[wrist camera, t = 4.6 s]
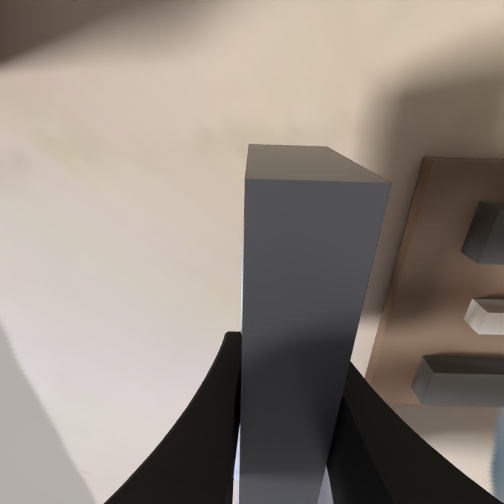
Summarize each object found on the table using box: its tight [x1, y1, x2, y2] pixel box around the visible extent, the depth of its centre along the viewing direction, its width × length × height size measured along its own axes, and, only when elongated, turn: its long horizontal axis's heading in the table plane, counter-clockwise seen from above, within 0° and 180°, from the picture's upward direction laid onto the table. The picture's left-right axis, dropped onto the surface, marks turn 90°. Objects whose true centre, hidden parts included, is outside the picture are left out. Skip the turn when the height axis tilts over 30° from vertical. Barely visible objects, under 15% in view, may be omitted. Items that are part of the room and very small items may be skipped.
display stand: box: [365, 157, 504, 407], centre depth 19 cm, size 18×12×2 cm, turn 178°
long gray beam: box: [238, 144, 391, 504], centre depth 10 cm, size 14×3×5 cm, turn 178°
